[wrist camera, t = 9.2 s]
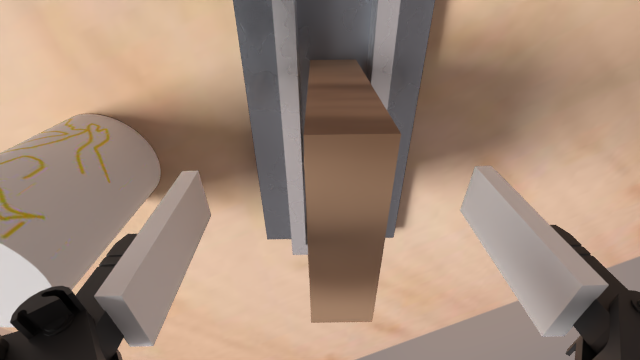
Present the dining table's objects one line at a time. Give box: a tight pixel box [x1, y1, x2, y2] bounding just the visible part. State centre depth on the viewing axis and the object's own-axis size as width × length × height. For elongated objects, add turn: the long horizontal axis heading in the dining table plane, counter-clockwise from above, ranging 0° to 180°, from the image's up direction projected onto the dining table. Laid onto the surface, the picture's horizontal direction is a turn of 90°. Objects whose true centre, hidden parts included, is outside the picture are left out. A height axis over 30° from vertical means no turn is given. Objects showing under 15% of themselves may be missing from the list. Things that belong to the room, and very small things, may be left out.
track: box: [233, 0, 435, 255], centre depth 21 cm, size 22×12×3 cm, turn 0°
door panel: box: [304, 60, 401, 323], centre depth 17 cm, size 10×3×12 cm, turn 0°
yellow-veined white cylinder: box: [0, 114, 161, 327], centre depth 19 cm, size 8×8×12 cm
